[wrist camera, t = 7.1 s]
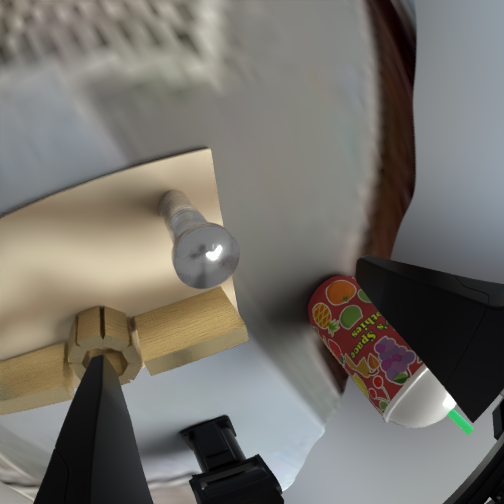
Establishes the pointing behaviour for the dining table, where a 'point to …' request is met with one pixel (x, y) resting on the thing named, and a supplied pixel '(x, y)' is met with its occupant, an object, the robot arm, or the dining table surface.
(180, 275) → the pin
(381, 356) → the smoothie
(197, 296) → the hinge base
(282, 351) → the dining table surface
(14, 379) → the loose leaf
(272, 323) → the dining table surface
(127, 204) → the mount board
